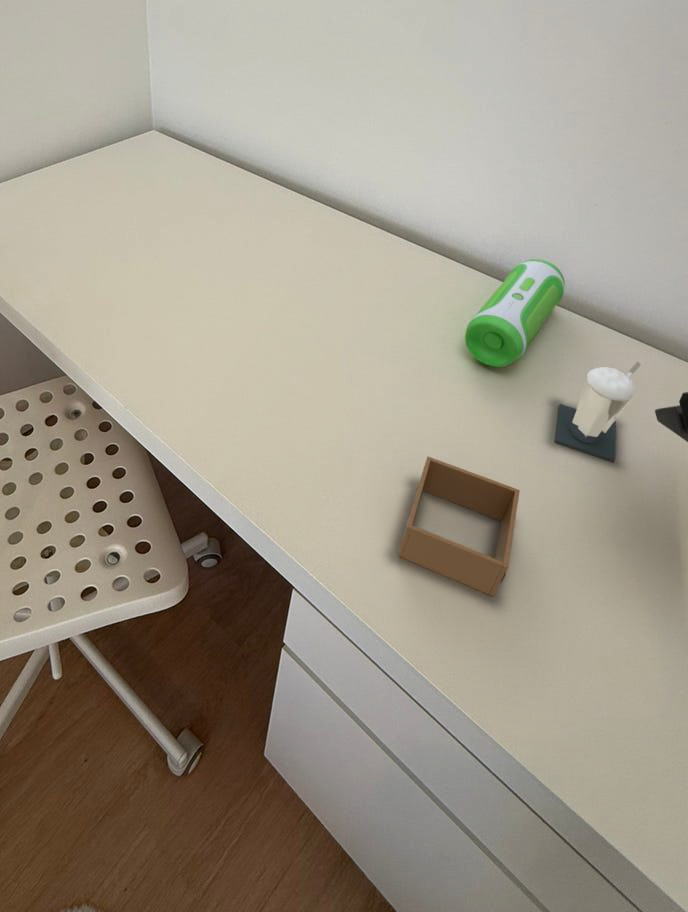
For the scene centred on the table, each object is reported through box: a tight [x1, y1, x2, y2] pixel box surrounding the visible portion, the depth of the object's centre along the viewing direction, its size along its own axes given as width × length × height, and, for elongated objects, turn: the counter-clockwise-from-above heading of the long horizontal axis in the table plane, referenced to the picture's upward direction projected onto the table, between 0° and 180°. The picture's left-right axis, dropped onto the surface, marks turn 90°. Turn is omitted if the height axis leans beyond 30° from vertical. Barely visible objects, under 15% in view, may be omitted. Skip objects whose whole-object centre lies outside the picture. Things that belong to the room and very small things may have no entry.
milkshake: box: [569, 361, 642, 444], centre depth 73 cm, size 4×5×10 cm
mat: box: [554, 403, 617, 463], centre depth 76 cm, size 6×6×1 cm
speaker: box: [464, 258, 566, 368], centre depth 87 cm, size 18×7×8 cm, turn 139°
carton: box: [397, 456, 521, 597], centre depth 64 cm, size 9×9×5 cm
